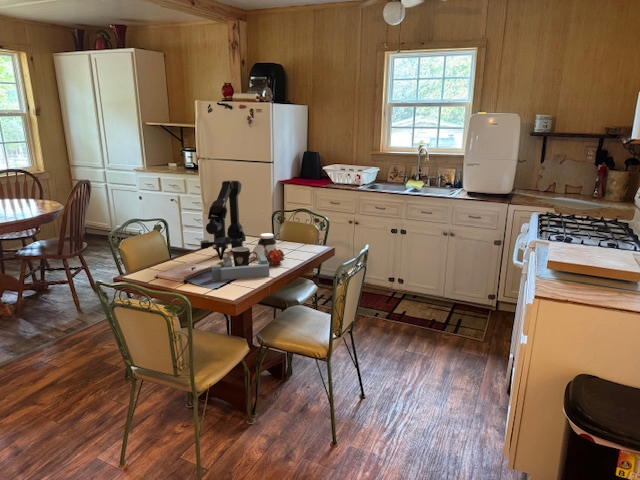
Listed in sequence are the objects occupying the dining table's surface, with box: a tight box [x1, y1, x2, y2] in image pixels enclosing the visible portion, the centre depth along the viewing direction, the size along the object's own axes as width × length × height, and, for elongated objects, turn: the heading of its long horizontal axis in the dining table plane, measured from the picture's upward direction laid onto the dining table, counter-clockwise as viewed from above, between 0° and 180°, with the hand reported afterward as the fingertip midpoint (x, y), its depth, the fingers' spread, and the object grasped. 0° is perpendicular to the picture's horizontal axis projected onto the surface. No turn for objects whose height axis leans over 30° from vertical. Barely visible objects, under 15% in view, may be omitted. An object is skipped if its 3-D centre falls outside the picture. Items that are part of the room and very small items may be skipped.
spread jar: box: [252, 232, 278, 259], centre depth 240 cm, size 12×11×12 cm
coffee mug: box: [231, 246, 258, 267], centre depth 218 cm, size 12×9×10 cm
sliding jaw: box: [222, 253, 234, 268], centre depth 220 cm, size 25×4×6 cm, turn 16°
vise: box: [211, 255, 270, 281], centre depth 212 cm, size 14×26×6 cm, turn 106°
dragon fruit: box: [266, 248, 286, 266], centre depth 227 cm, size 8×8×12 cm
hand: (220, 260), depth 224 cm, fingers closed
